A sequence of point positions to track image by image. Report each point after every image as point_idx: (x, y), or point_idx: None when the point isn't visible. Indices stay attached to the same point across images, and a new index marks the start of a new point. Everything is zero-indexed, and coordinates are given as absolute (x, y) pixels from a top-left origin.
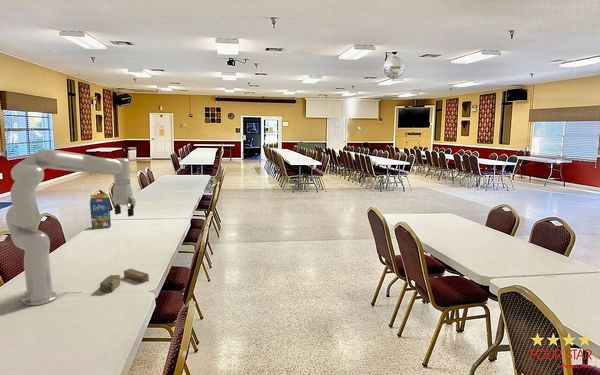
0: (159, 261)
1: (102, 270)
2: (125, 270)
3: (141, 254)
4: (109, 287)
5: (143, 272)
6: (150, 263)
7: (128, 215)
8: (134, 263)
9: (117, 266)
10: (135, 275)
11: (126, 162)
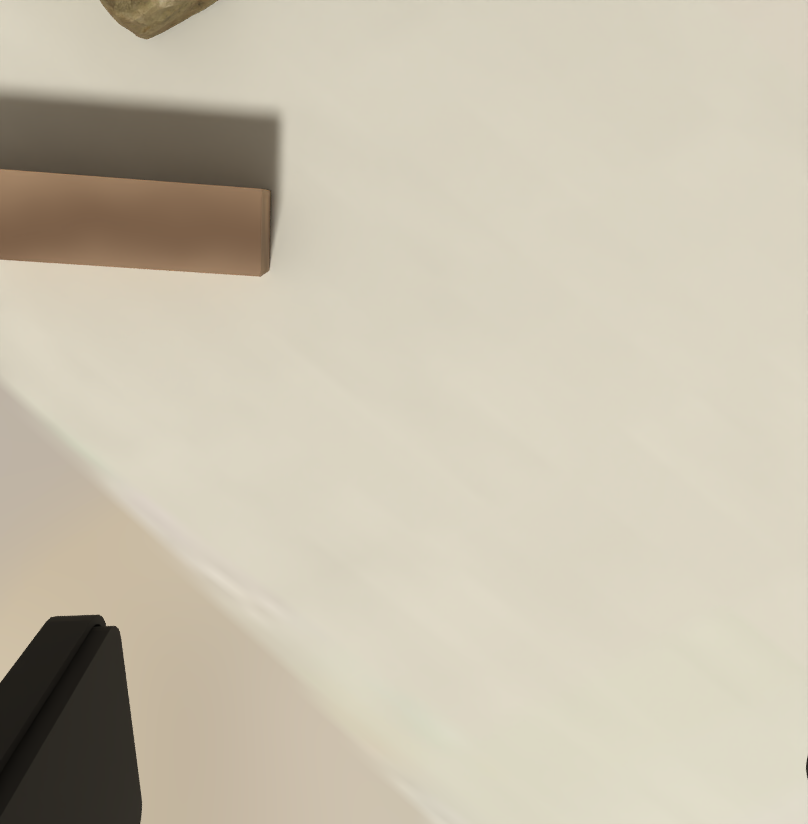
0: (348, 643)
1: (626, 218)
2: (255, 205)
3: (646, 685)
4: None
5: (35, 260)
6: (377, 570)
7: (45, 632)
8: (508, 500)
9: (586, 367)
10: (59, 174)
11: None
